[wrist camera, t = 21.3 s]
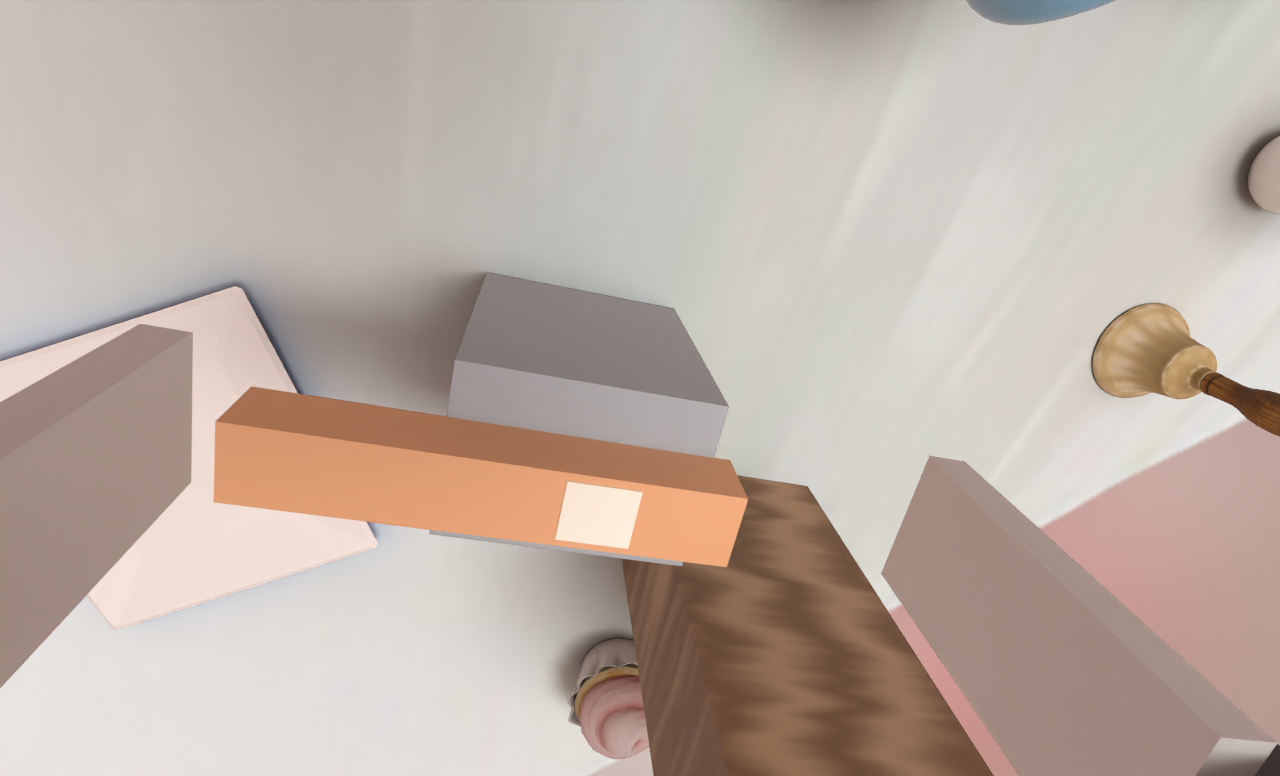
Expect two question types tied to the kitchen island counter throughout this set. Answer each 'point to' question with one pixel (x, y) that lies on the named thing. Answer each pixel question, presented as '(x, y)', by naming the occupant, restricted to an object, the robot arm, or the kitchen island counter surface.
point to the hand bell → (1171, 365)
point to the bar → (473, 478)
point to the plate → (203, 475)
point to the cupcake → (610, 700)
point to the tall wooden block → (784, 659)
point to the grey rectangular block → (584, 374)
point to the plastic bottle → (1266, 177)
